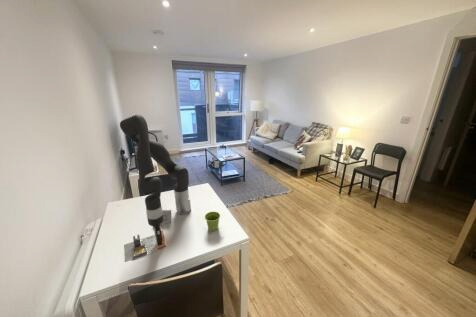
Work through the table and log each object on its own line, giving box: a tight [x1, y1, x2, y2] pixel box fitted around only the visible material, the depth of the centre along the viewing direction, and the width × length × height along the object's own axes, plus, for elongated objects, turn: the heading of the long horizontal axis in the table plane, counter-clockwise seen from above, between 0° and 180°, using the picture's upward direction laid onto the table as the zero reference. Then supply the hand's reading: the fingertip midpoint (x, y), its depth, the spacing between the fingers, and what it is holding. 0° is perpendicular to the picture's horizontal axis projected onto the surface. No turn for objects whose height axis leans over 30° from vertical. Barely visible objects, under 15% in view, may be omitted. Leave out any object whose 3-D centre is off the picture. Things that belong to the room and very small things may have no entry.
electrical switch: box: [161, 209, 172, 224], centre depth 126 cm, size 9×5×9 cm, turn 90°
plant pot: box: [204, 211, 221, 232], centre depth 121 cm, size 9×9×9 cm
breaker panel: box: [123, 234, 168, 263], centre depth 107 cm, size 20×13×3 cm, turn 120°
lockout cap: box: [155, 229, 167, 248], centre depth 106 cm, size 4×4×8 cm
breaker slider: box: [132, 234, 141, 247], centre depth 107 cm, size 3×4×5 cm
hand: (158, 239), depth 107 cm, fingers open, 8 cm apart
